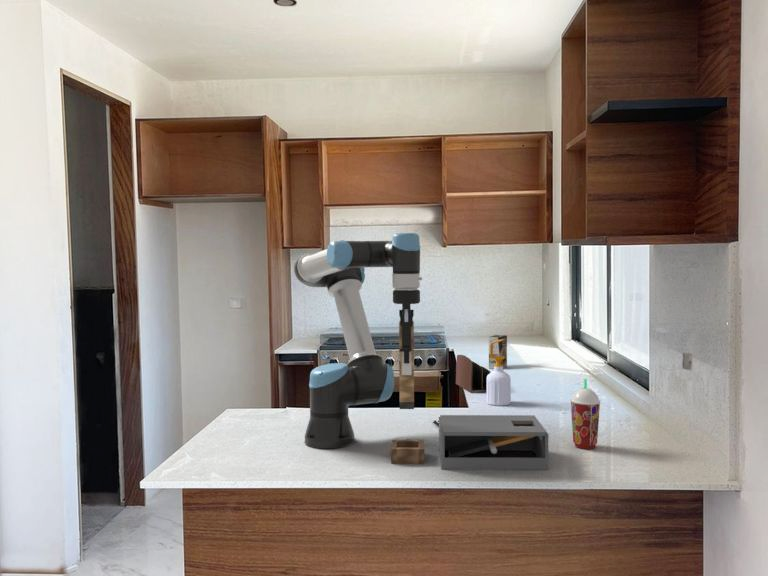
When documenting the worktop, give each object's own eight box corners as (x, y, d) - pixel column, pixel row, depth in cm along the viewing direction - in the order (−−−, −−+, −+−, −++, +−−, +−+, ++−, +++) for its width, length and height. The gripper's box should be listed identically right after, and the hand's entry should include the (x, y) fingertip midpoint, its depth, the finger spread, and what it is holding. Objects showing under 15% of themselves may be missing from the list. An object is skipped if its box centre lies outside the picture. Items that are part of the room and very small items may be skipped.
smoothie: (605, 449, 188) (606, 380, 187) (580, 452, 186) (581, 382, 185) (589, 441, 196) (589, 375, 195) (564, 444, 194) (565, 377, 193)
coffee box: (500, 369, 321) (500, 337, 320) (488, 368, 324) (488, 336, 323) (507, 366, 328) (507, 335, 327) (495, 365, 332) (495, 334, 331)
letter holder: (470, 393, 267) (470, 359, 266) (455, 384, 286) (455, 352, 285) (493, 392, 269) (493, 358, 268) (477, 383, 288) (477, 351, 287)
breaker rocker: (451, 465, 173) (448, 456, 173) (448, 448, 188) (445, 440, 188) (538, 442, 172) (536, 433, 172) (528, 427, 187) (526, 419, 187)
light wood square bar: (399, 409, 179) (399, 322, 178) (399, 405, 183) (399, 320, 182) (414, 409, 179) (413, 322, 178) (414, 405, 183) (413, 320, 182)
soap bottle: (508, 406, 242) (508, 341, 241) (484, 405, 245) (484, 340, 244) (512, 401, 251) (512, 338, 249) (488, 400, 254) (488, 337, 252)
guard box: (441, 469, 172) (441, 431, 172) (438, 449, 190) (438, 415, 190) (548, 469, 171) (548, 432, 170) (535, 449, 189) (535, 415, 188)
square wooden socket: (391, 463, 177) (391, 449, 177) (392, 453, 186) (392, 439, 186) (424, 463, 177) (424, 449, 177) (423, 453, 186) (423, 439, 186)
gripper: (420, 290, 171) (420, 379, 172) (419, 287, 188) (419, 367, 189) (391, 291, 171) (392, 379, 172) (393, 287, 188) (394, 367, 189)
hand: (406, 373), depth 181 cm, fingers closed on light wood square bar, 4 cm apart
